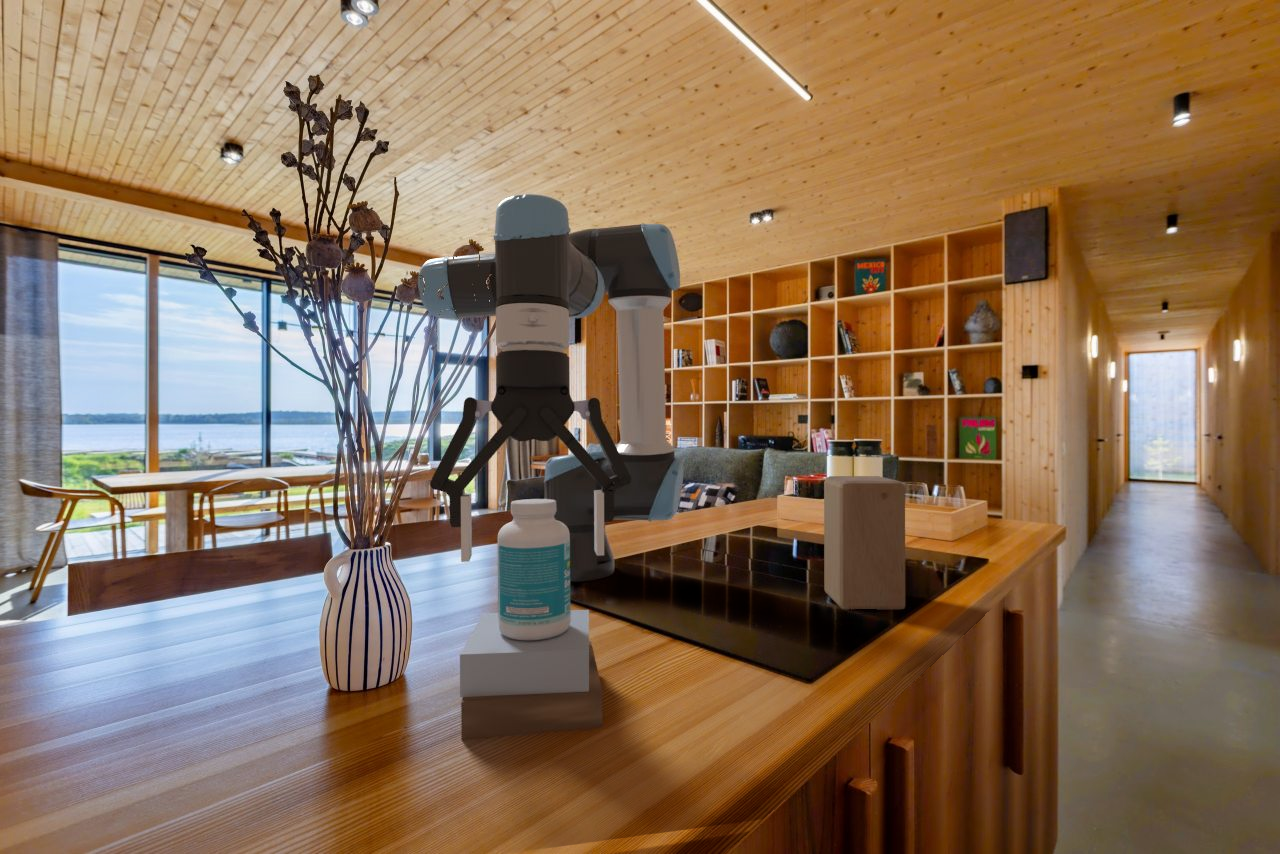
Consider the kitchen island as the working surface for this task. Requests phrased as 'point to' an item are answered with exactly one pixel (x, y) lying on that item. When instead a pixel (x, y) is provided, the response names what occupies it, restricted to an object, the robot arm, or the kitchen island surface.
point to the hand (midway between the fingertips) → (534, 556)
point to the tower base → (534, 711)
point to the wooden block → (864, 542)
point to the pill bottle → (533, 572)
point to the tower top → (525, 660)
